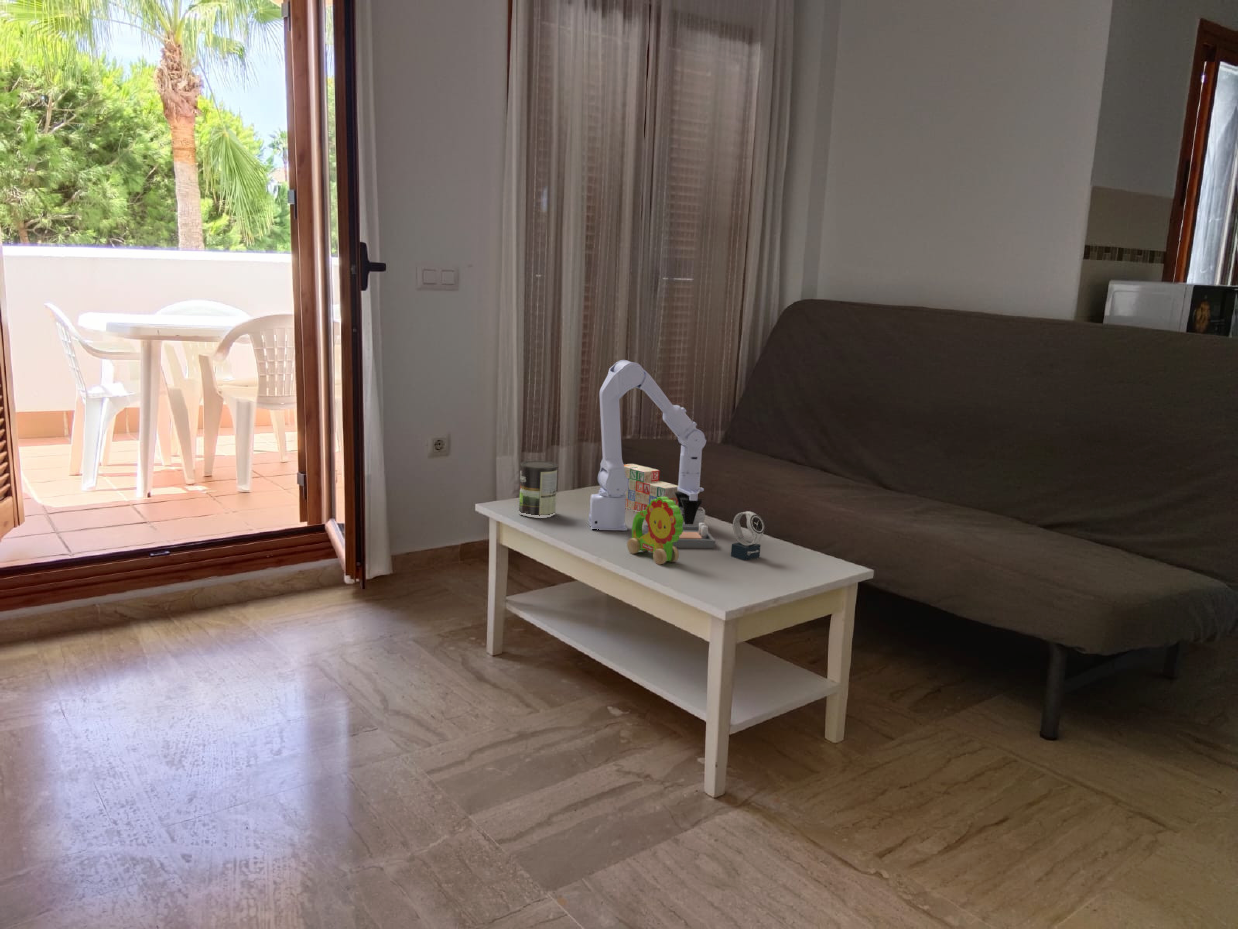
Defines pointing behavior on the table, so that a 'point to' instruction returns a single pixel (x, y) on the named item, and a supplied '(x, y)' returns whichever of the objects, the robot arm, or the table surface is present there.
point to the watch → (743, 547)
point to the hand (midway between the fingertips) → (686, 521)
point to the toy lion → (658, 530)
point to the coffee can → (538, 487)
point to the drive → (698, 518)
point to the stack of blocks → (646, 487)
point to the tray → (692, 537)
